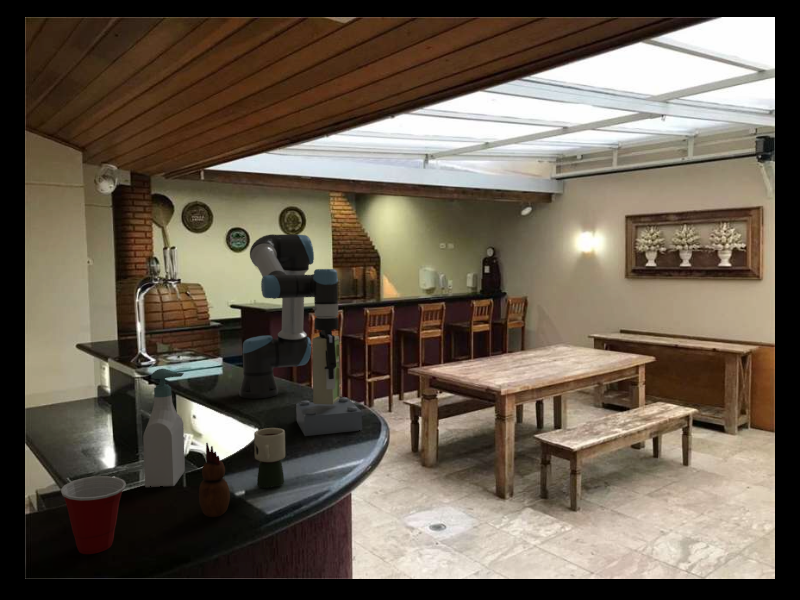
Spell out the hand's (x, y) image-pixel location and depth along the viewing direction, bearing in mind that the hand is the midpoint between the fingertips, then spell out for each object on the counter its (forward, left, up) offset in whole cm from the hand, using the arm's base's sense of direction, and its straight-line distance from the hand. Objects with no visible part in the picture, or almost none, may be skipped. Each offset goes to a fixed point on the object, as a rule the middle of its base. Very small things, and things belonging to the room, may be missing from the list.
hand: (327, 385), depth 191 cm
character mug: (+47, -23, -13) cm, 54 cm away
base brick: (0, 0, -13) cm, 13 cm away
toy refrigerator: (0, 0, -5) cm, 5 cm away
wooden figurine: (+59, -35, -13) cm, 70 cm away
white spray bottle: (+34, -46, -13) cm, 59 cm away
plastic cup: (+67, -57, -13) cm, 89 cm away
